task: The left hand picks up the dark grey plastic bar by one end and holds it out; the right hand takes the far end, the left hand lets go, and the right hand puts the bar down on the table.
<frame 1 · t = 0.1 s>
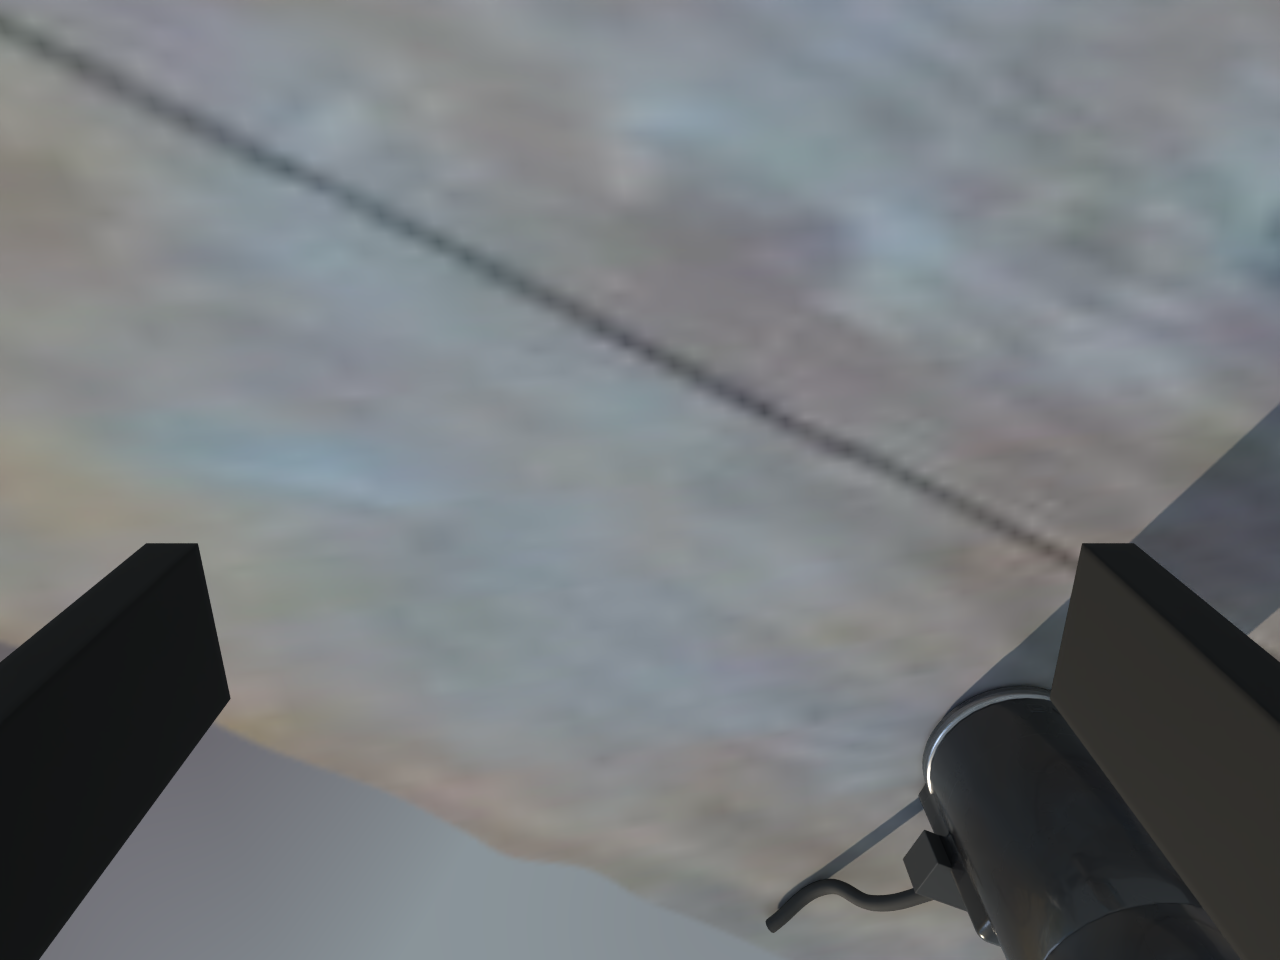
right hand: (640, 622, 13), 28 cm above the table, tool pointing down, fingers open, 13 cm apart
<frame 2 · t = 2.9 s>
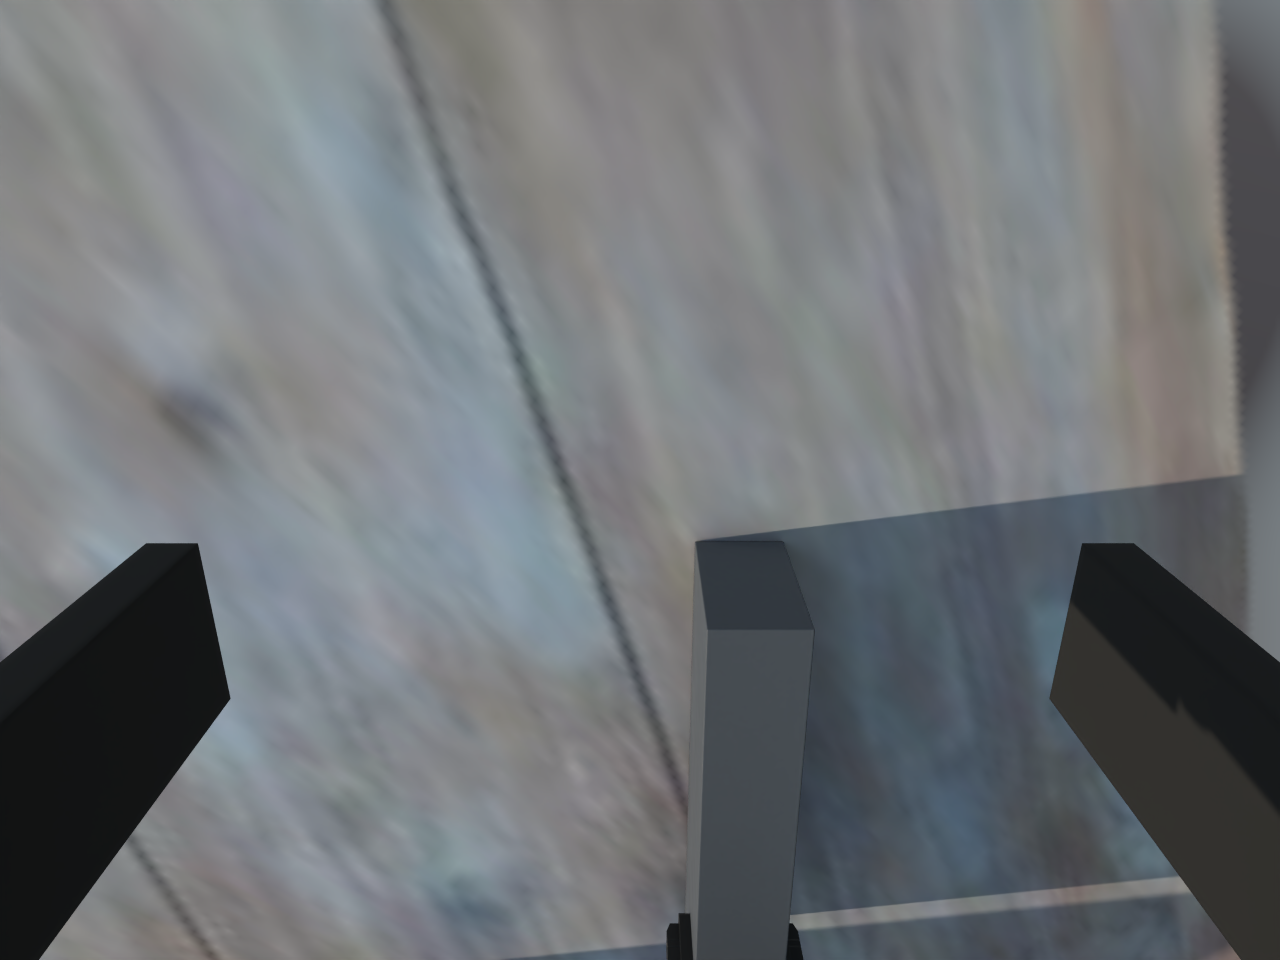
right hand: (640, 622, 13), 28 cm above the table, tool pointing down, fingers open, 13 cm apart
bar: (729, 748, 49), on the table, touching left hand
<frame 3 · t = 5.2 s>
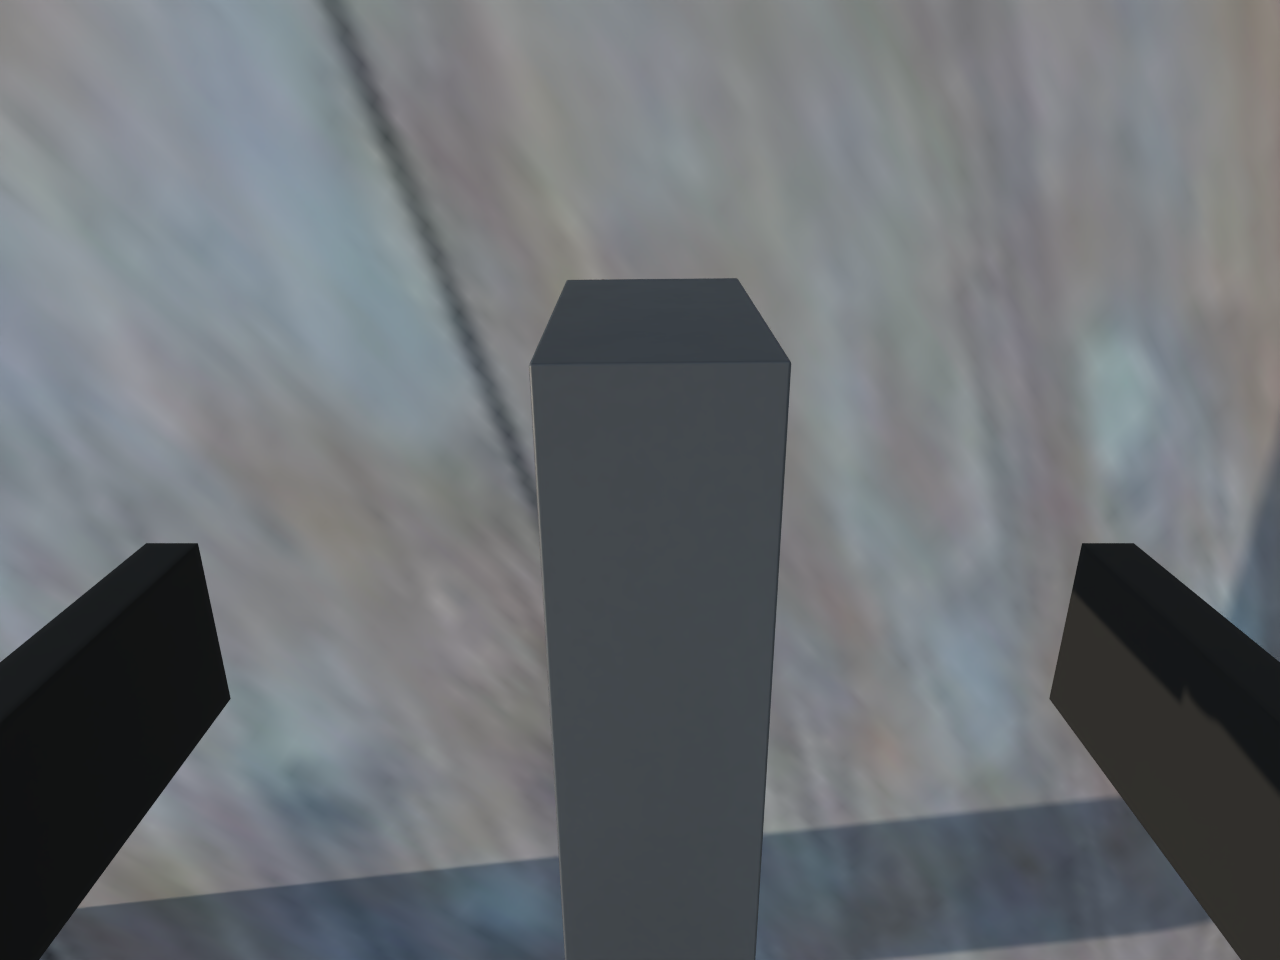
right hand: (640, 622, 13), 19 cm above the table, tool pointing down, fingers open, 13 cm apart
bar: (653, 688, 28), point 8 cm above the table, touching left hand
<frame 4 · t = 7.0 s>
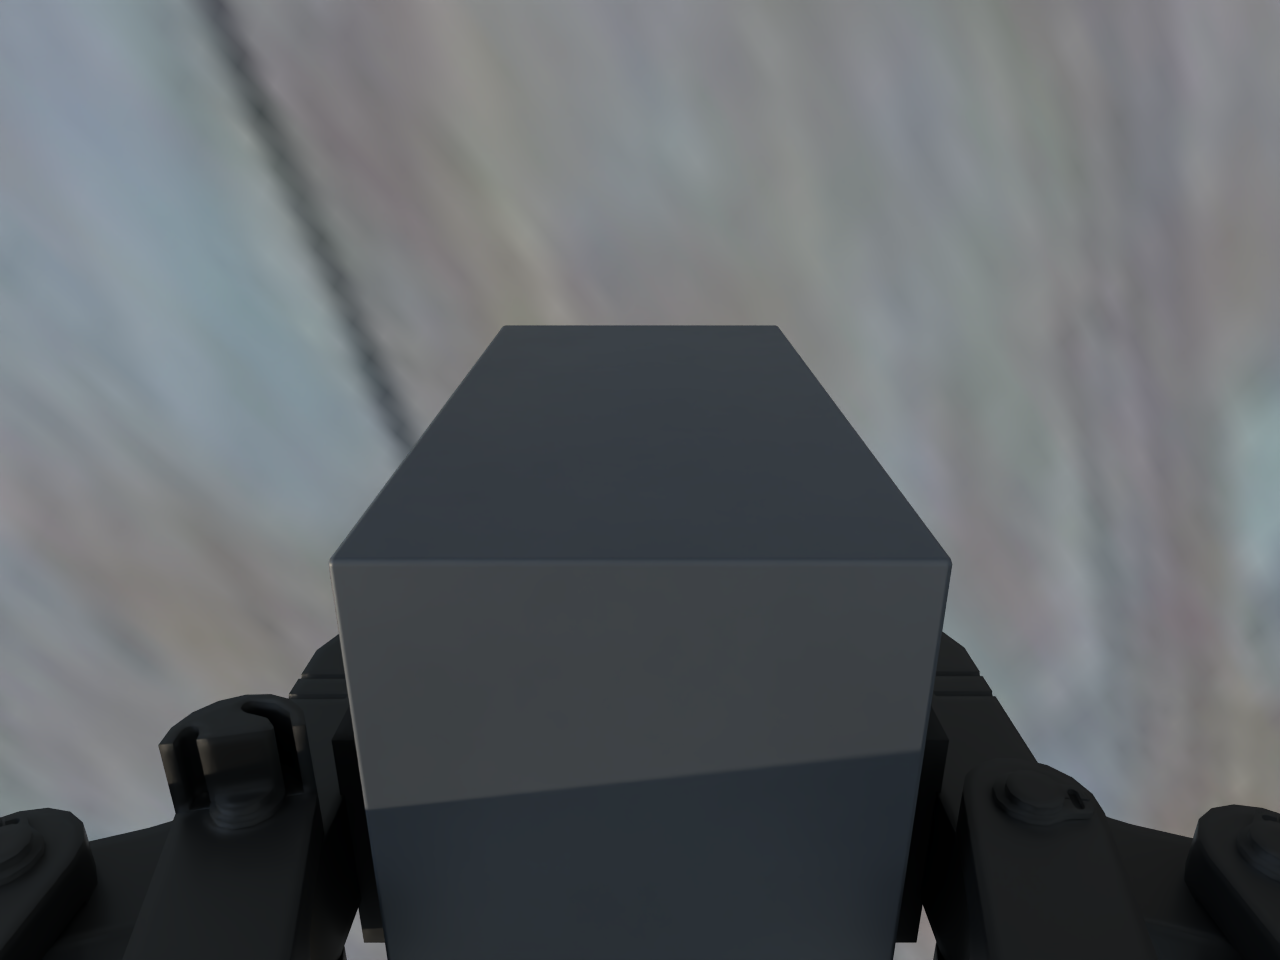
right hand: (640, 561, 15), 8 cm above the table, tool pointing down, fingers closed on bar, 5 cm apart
bar: (640, 915, 19), point 8 cm above the table, touching right hand, left hand
when the left hand's fingers open (12 cm above the table, at t = 7.8 s): bar stays where it is, held by the right hand.
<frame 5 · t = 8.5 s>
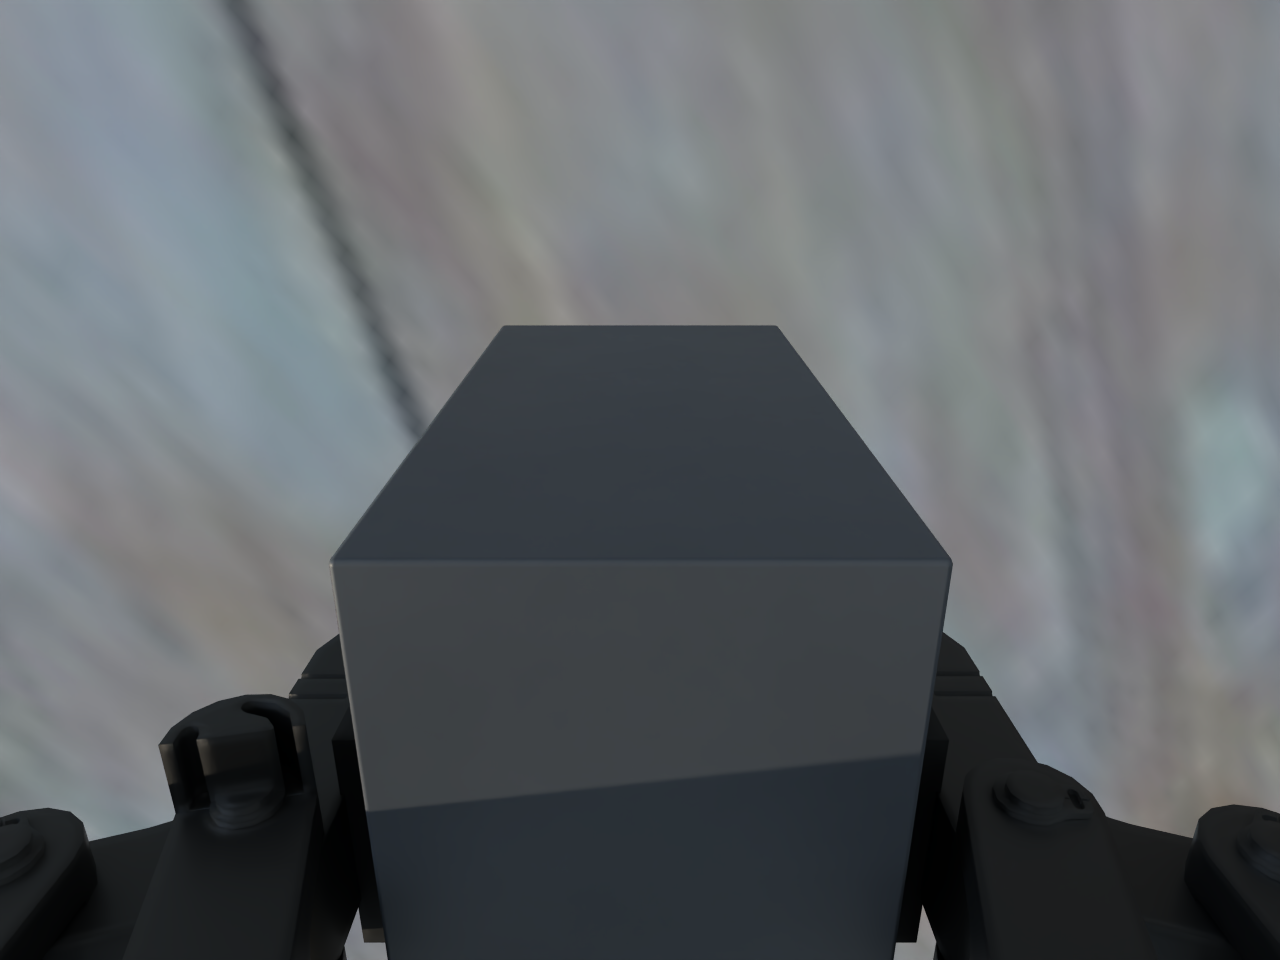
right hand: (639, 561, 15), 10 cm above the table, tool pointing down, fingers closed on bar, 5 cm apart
bar: (639, 915, 19), point 9 cm above the table, touching right hand
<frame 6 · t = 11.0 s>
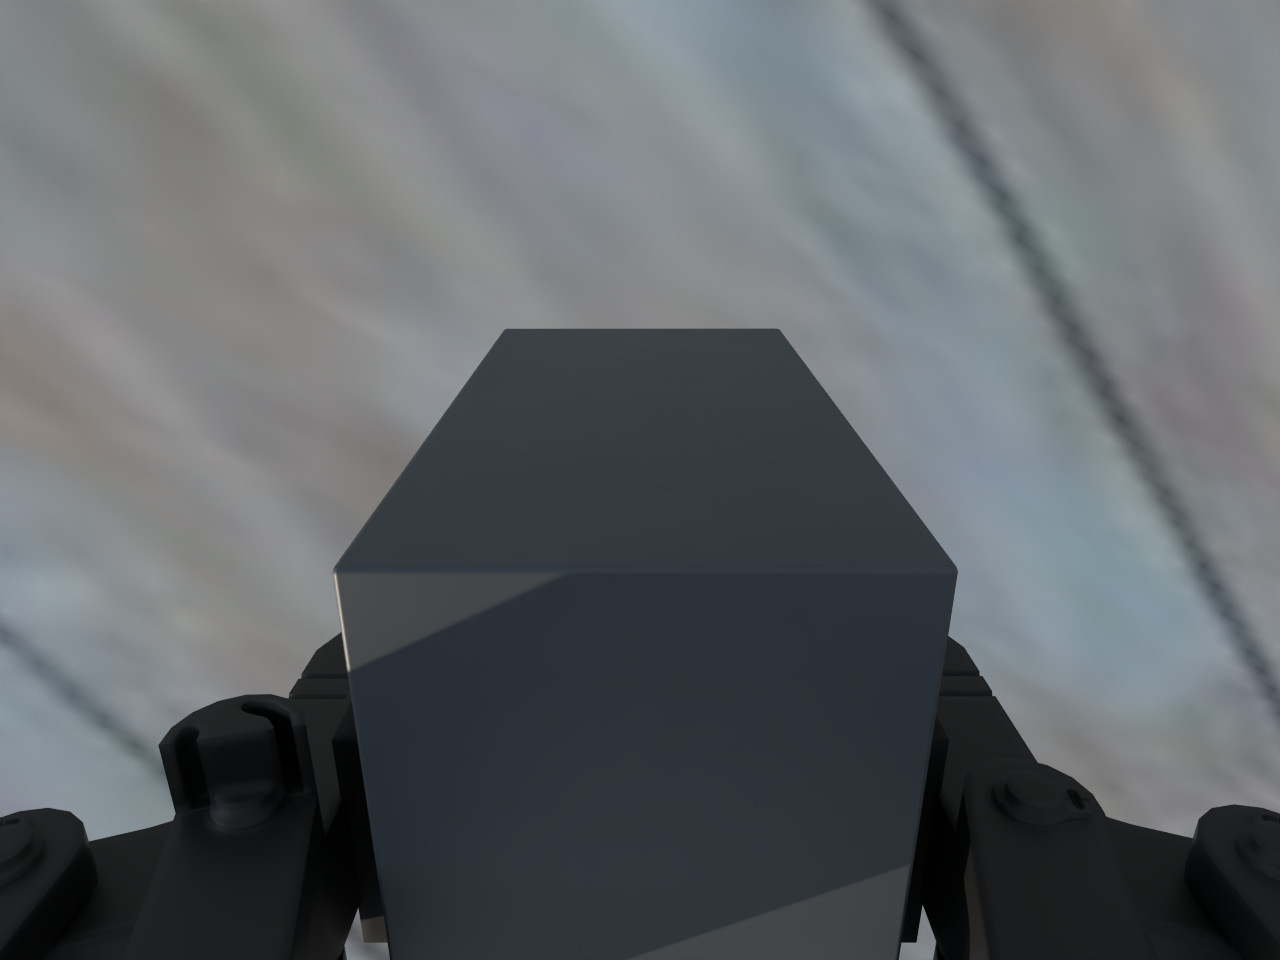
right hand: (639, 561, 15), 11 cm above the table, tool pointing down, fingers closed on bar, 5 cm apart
bar: (641, 917, 19), point 10 cm above the table, touching right hand
when the right hand's fingers open (2 cm above the table, at t = 15.1 s): bar drops 1 cm, on the table.
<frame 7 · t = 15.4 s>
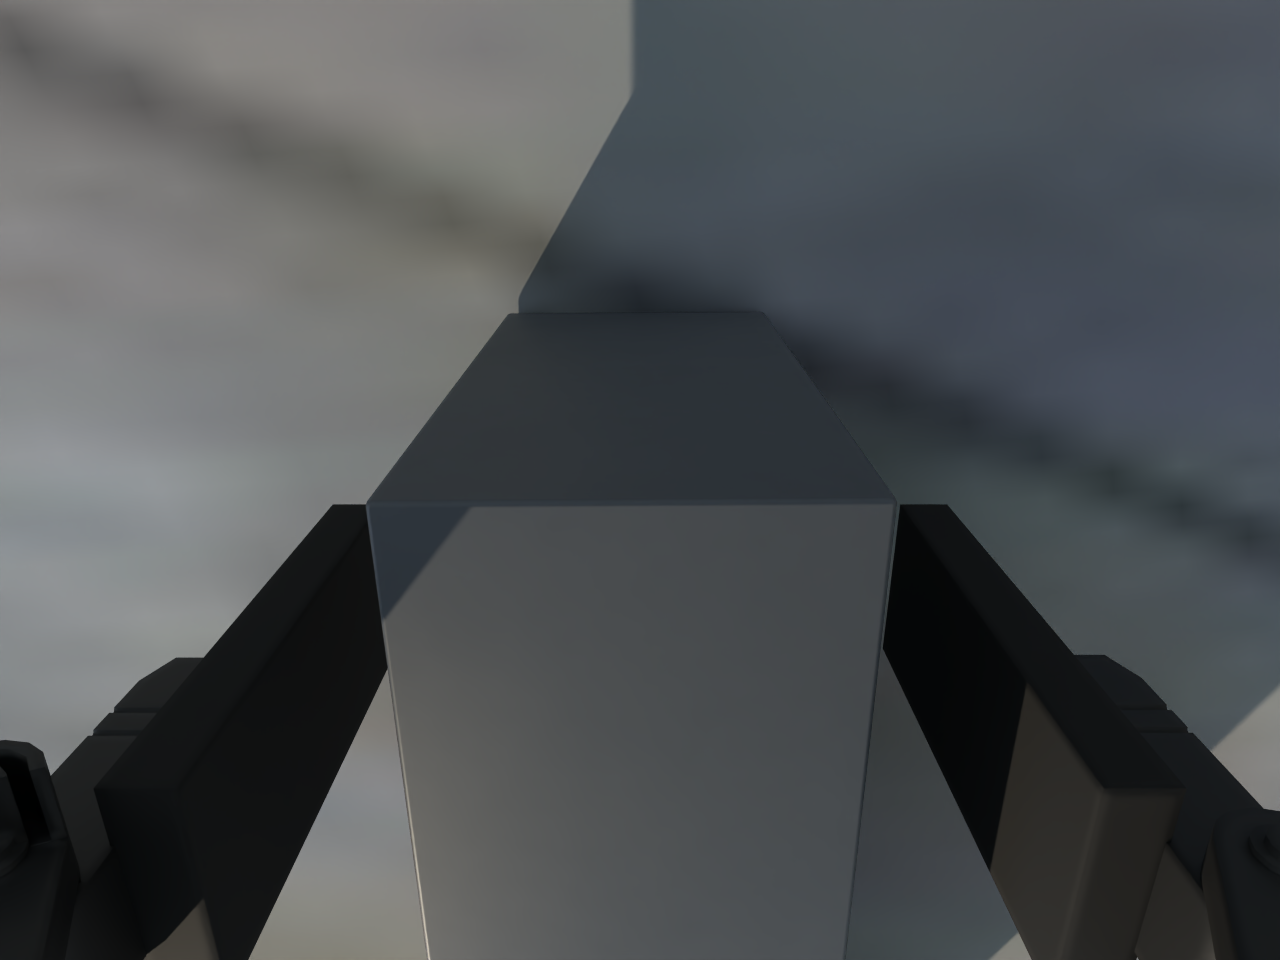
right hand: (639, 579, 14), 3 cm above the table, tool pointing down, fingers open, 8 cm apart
bar: (640, 872, 20), on the table
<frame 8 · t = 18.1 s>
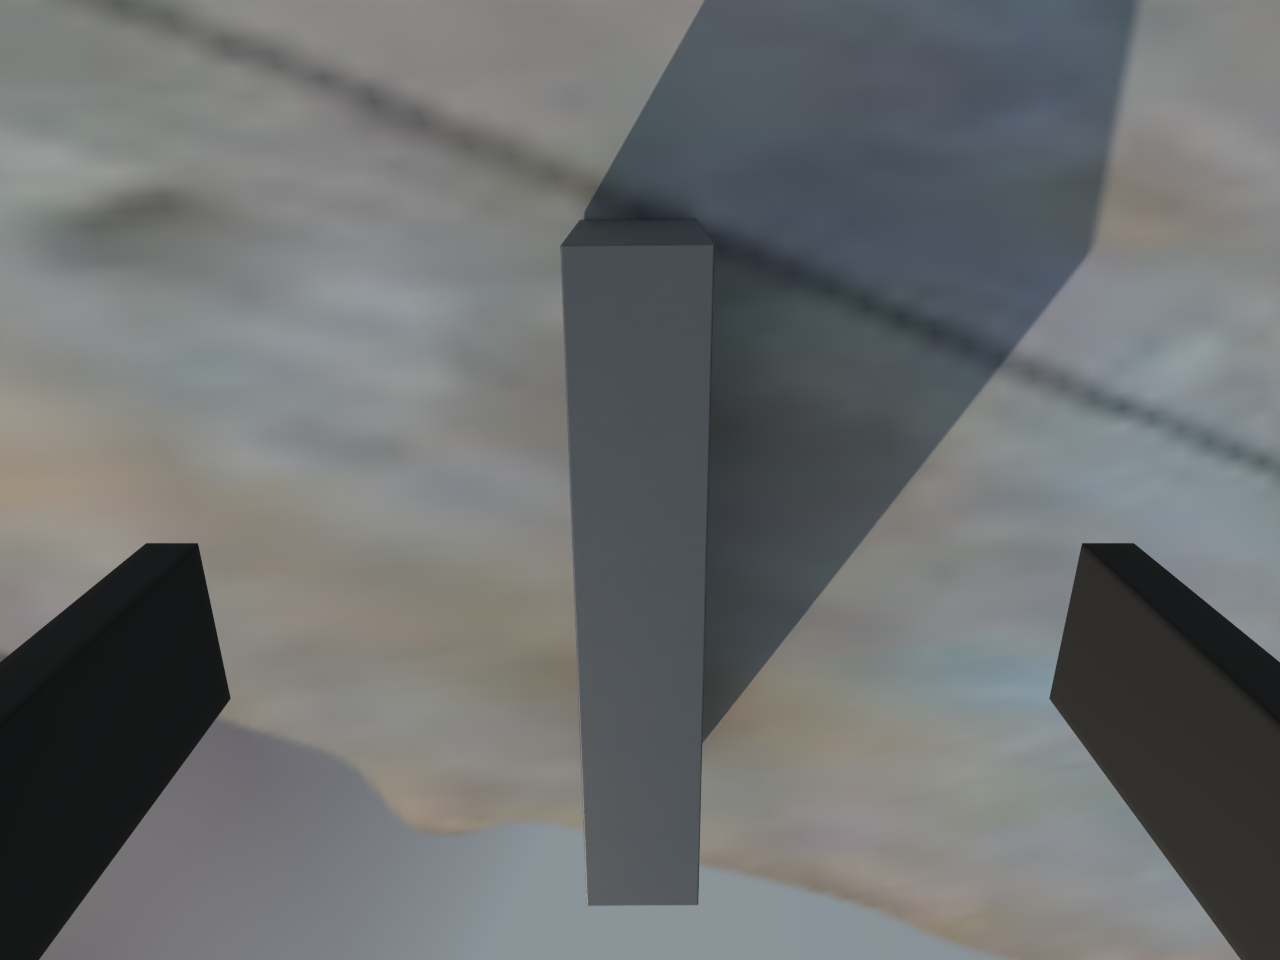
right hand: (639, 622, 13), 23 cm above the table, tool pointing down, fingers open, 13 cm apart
bar: (640, 526, 38), on the table
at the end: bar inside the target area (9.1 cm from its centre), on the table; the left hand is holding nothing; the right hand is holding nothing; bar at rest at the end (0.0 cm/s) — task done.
